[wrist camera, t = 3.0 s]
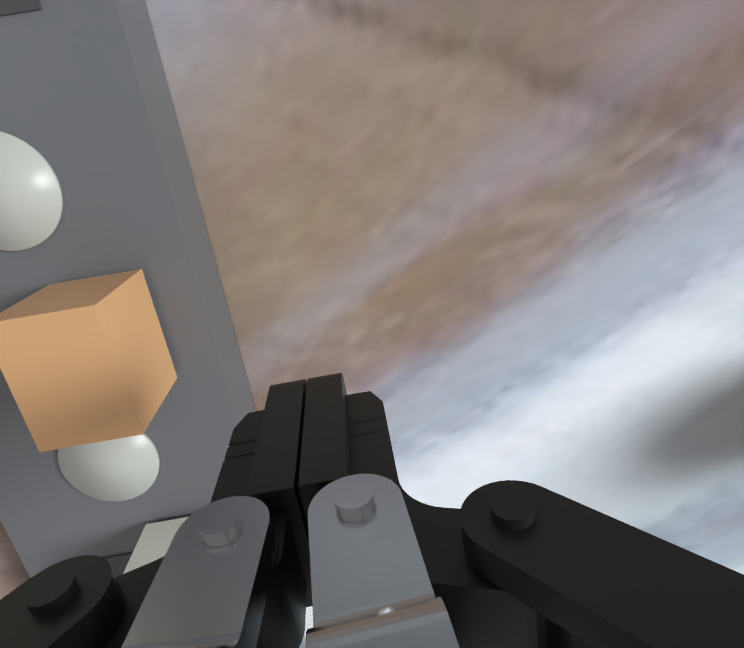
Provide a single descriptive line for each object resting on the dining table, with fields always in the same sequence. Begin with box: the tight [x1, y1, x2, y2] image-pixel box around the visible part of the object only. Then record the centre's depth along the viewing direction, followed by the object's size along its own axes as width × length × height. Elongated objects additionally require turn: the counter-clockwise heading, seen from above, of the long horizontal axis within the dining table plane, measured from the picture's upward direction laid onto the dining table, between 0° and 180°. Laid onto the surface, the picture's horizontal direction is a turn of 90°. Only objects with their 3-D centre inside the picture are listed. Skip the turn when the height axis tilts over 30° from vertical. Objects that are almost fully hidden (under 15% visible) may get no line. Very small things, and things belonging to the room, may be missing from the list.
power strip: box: [0, 0, 256, 578], centre depth 17 cm, size 40×10×3 cm, turn 9°
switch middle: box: [0, 269, 177, 452], centre depth 16 cm, size 4×3×4 cm
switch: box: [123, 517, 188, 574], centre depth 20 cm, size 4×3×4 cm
